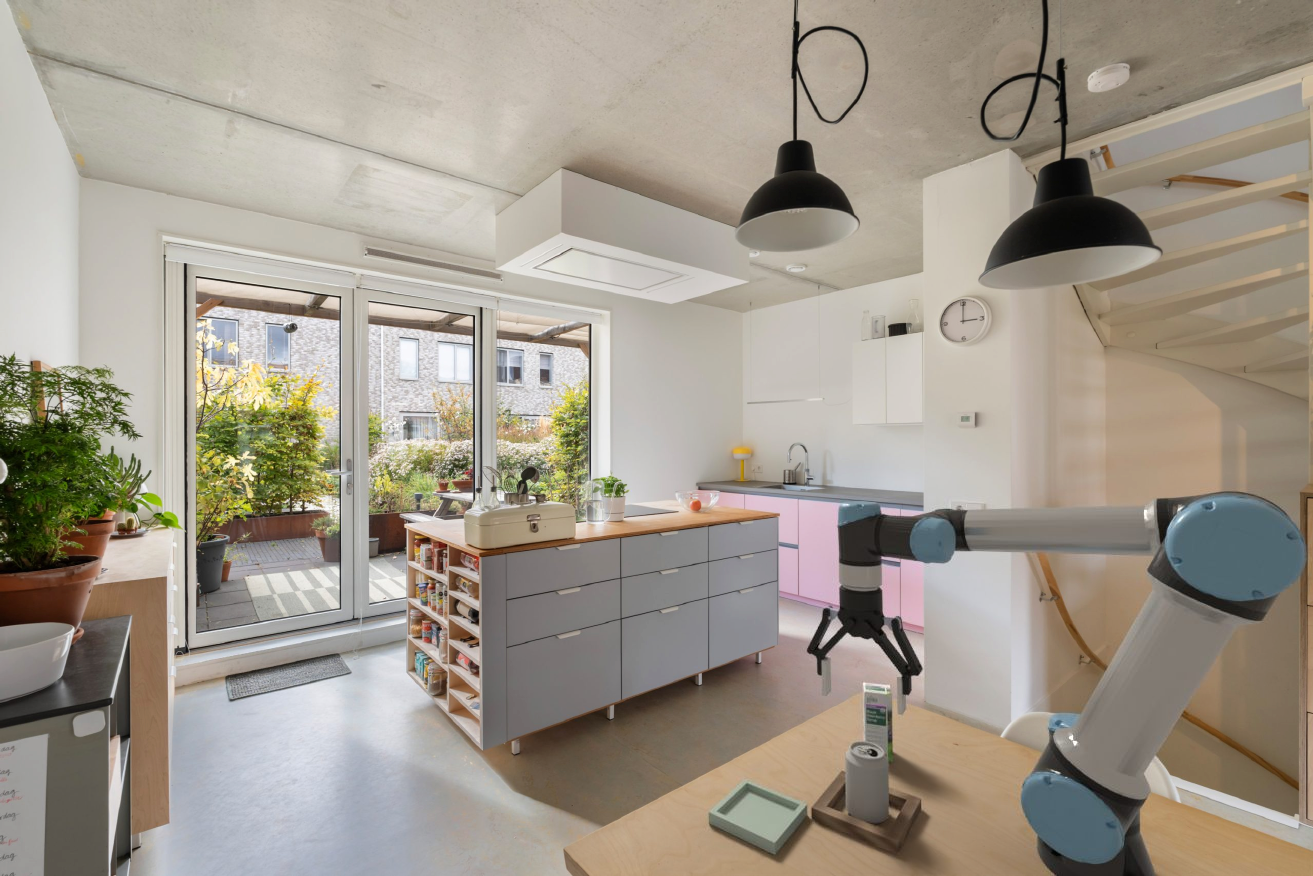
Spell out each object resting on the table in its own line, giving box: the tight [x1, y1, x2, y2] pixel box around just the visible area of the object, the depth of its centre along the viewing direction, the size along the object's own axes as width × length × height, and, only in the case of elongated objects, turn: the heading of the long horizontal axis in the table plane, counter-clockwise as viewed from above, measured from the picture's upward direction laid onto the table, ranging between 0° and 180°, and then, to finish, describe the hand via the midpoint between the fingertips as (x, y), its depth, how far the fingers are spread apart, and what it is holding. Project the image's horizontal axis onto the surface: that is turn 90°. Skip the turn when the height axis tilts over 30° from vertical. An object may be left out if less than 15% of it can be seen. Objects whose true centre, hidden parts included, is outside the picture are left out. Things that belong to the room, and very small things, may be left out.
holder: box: [810, 770, 922, 855], centre depth 107 cm, size 15×15×2 cm
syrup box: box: [862, 682, 894, 763], centre depth 127 cm, size 6×6×14 cm
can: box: [845, 740, 890, 826], centre depth 107 cm, size 8×8×12 cm
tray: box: [708, 778, 808, 856], centre depth 105 cm, size 13×13×2 cm
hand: (862, 702), depth 107 cm, fingers open, 13 cm apart
